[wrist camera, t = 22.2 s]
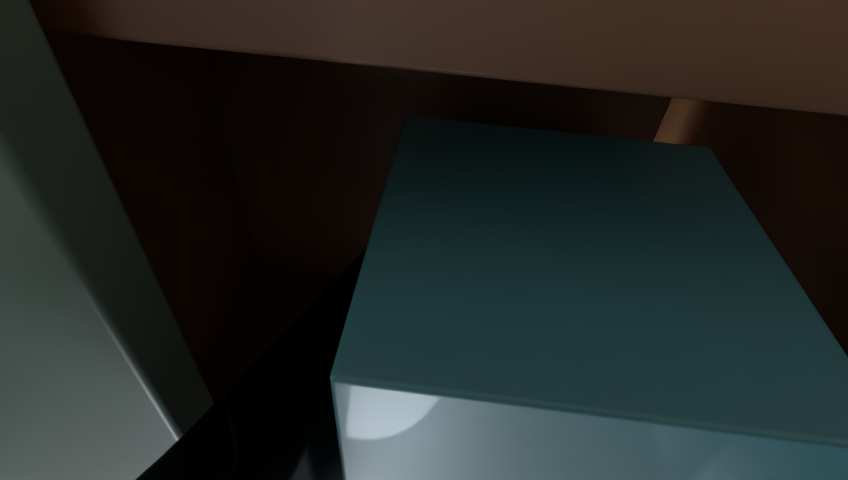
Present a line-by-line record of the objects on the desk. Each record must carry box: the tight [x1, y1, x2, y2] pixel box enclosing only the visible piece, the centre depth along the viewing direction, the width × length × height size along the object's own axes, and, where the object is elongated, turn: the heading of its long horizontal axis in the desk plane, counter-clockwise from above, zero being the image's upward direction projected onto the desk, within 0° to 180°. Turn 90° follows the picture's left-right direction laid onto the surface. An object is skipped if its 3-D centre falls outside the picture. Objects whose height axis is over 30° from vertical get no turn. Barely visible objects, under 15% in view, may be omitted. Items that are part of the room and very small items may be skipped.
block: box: [330, 116, 848, 480], centre depth 7 cm, size 5×5×5 cm
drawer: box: [29, 0, 848, 403], centre depth 9 cm, size 17×11×7 cm, turn 86°
